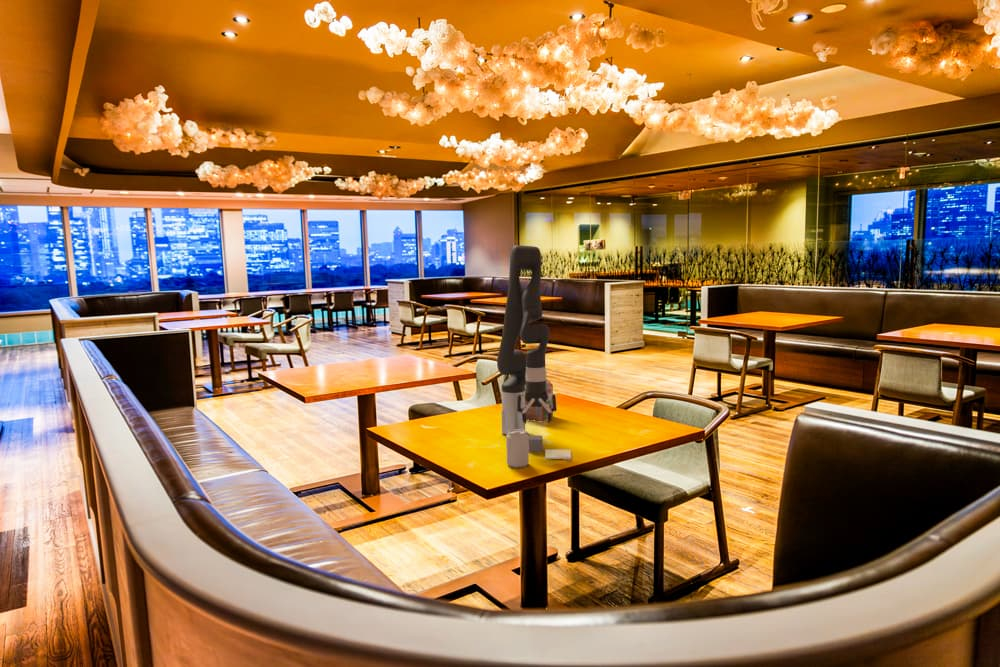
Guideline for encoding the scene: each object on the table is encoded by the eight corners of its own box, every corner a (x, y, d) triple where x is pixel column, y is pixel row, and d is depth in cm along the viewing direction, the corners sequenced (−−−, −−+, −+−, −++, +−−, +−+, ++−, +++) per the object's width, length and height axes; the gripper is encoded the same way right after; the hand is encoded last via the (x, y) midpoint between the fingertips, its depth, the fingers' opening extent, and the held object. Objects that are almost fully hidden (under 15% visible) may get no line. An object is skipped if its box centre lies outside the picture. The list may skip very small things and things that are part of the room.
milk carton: (541, 422, 275) (541, 378, 272) (520, 418, 280) (519, 376, 278) (553, 416, 284) (552, 374, 281) (532, 413, 289) (531, 371, 287)
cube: (528, 452, 234) (528, 439, 233) (529, 448, 239) (528, 435, 238) (542, 452, 234) (542, 439, 233) (542, 448, 239) (542, 435, 238)
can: (503, 467, 219) (503, 432, 217) (511, 460, 226) (510, 427, 224) (524, 469, 216) (524, 434, 215) (531, 462, 223) (531, 428, 222)
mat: (545, 459, 226) (545, 457, 226) (545, 451, 235) (545, 449, 235) (571, 459, 225) (571, 457, 225) (570, 451, 234) (570, 449, 234)
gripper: (516, 381, 230) (517, 425, 232) (556, 380, 229) (557, 425, 231) (516, 377, 237) (517, 420, 239) (555, 376, 236) (556, 419, 238)
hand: (537, 422), depth 235 cm, fingers open, 8 cm apart
